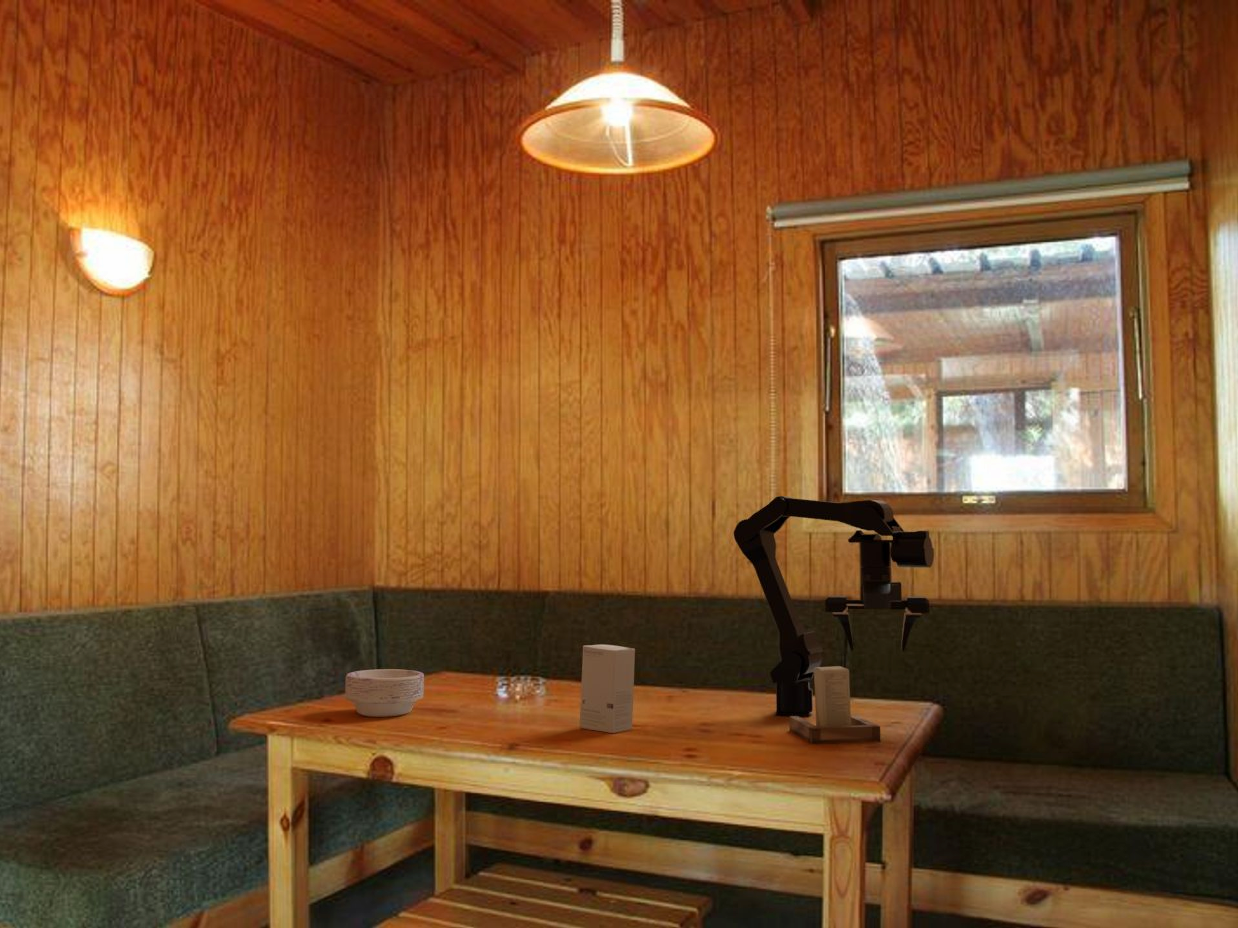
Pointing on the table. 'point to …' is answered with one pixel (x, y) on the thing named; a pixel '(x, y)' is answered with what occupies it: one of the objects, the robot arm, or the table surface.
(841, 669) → the box
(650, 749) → the table surface
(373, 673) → the paper bowls
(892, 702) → the table surface
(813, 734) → the walnut u rest
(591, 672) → the skincare box
